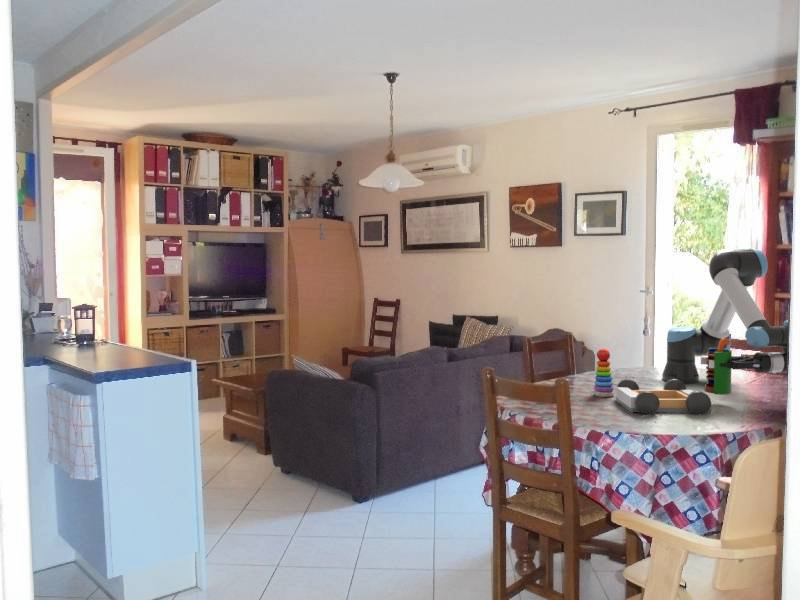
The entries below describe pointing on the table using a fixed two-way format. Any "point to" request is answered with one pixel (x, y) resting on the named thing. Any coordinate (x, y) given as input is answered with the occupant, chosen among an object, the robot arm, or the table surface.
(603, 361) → the stacking toy
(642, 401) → the chassis
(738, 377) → the table surface
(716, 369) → the motor
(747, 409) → the table surface
